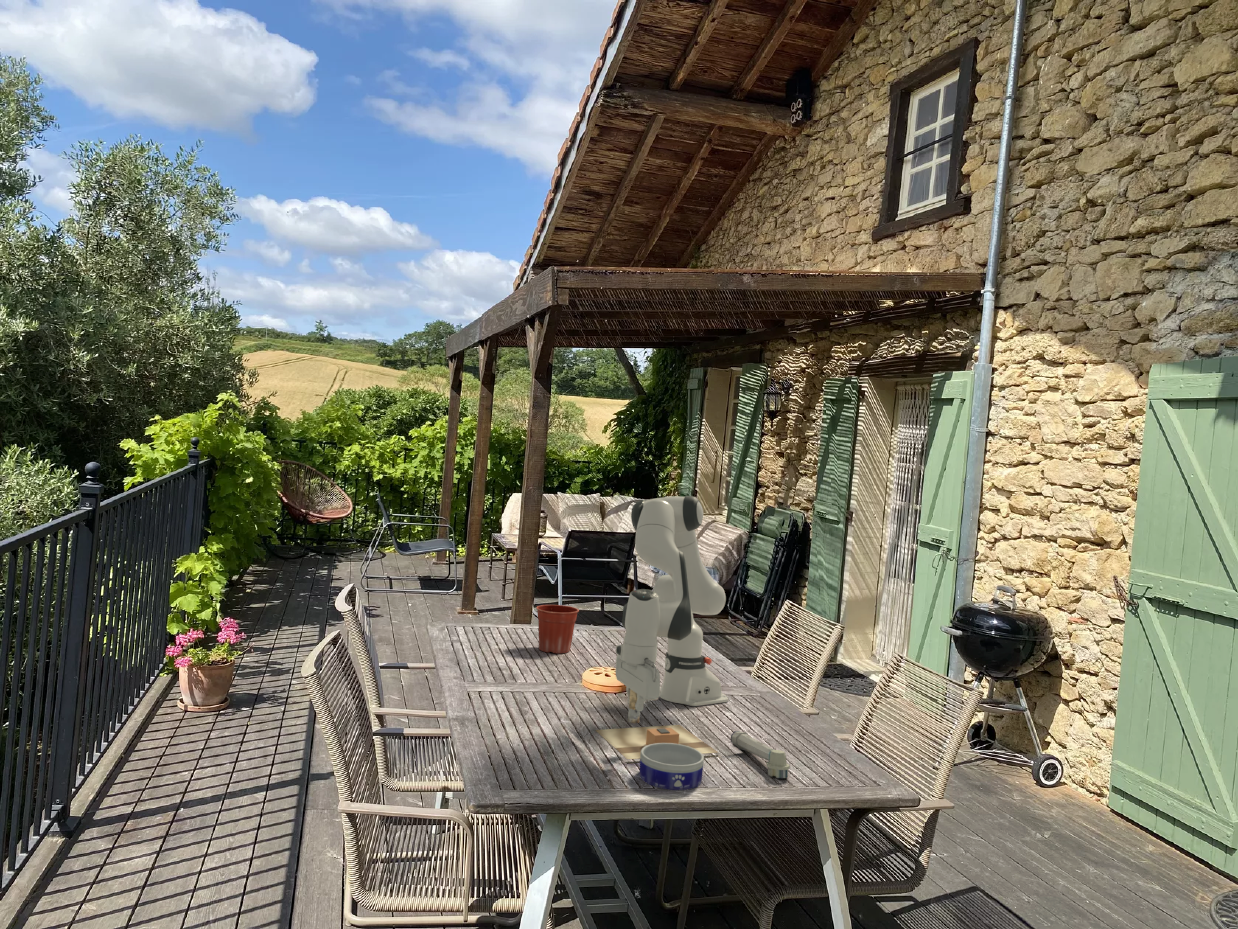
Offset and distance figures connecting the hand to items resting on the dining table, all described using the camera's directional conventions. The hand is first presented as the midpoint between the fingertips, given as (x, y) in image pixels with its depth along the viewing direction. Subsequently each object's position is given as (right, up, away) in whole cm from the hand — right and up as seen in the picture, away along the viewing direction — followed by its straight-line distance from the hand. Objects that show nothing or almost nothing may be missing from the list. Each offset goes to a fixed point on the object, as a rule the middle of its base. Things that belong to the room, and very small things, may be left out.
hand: (635, 707), depth 214 cm
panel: (+5, -13, +8) cm, 16 cm away
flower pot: (-29, -9, +107) cm, 111 cm away
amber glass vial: (0, -4, 0) cm, 4 cm away
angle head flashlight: (+32, -15, +3) cm, 36 cm away
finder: (+7, -12, +4) cm, 14 cm away
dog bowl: (+8, -13, -13) cm, 21 cm away
